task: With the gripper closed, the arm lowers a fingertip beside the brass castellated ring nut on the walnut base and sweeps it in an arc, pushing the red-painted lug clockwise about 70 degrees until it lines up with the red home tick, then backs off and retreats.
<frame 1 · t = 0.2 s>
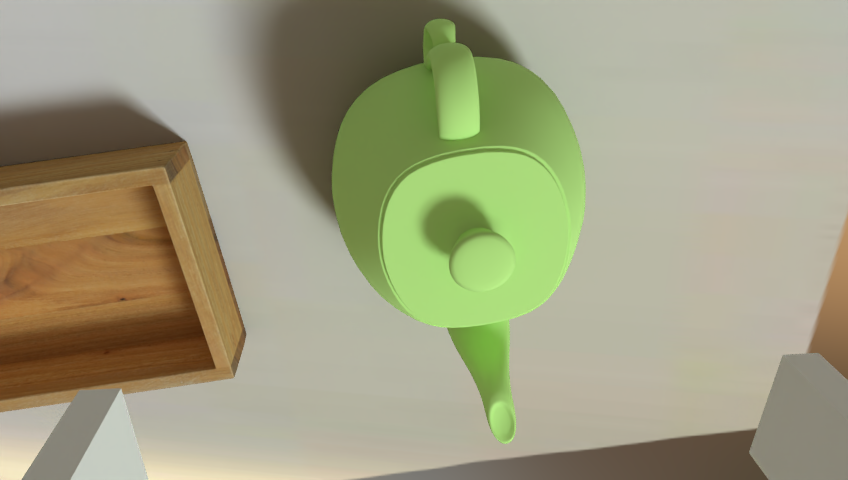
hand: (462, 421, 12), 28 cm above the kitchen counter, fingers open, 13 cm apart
teapot: (451, 182, 40), on the kitchen counter
tray: (0, 271, 41), on the kitchen counter
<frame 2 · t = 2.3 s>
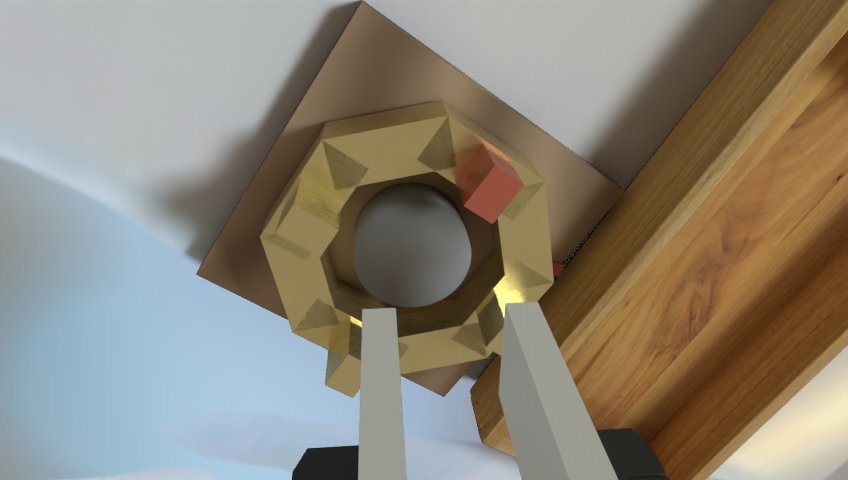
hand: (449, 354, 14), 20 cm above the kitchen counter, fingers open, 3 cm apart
tray: (698, 253, 37), on the kitchen counter
walnut base: (408, 221, 34), on the kitchen counter
ring nut: (413, 261, 30), point 5 cm above the kitchen counter, hinge at 0.0°
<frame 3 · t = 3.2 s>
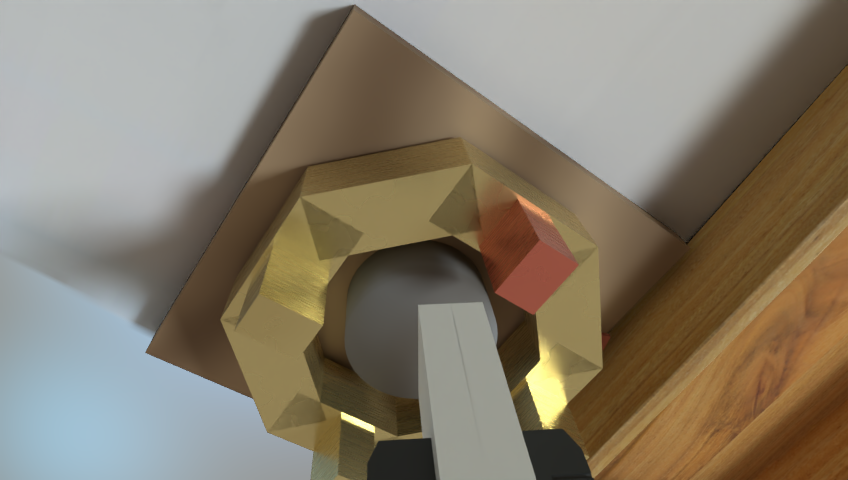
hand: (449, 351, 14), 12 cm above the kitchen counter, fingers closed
tray: (769, 313, 30), on the kitchen counter
walnut base: (414, 282, 27), on the kitchen counter
ring nut: (422, 347, 23), point 5 cm above the kitchen counter, hinge at 0.0°
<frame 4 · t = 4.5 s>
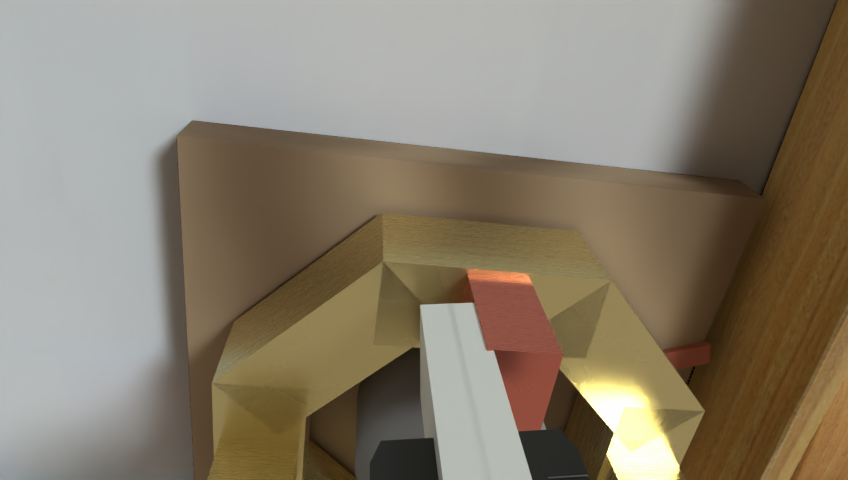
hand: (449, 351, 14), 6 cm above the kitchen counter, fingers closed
walnut base: (440, 371, 22), on the kitchen counter
ring nut: (455, 474, 18), point 5 cm above the kitchen counter, hinge at 0.0°, touching gripper
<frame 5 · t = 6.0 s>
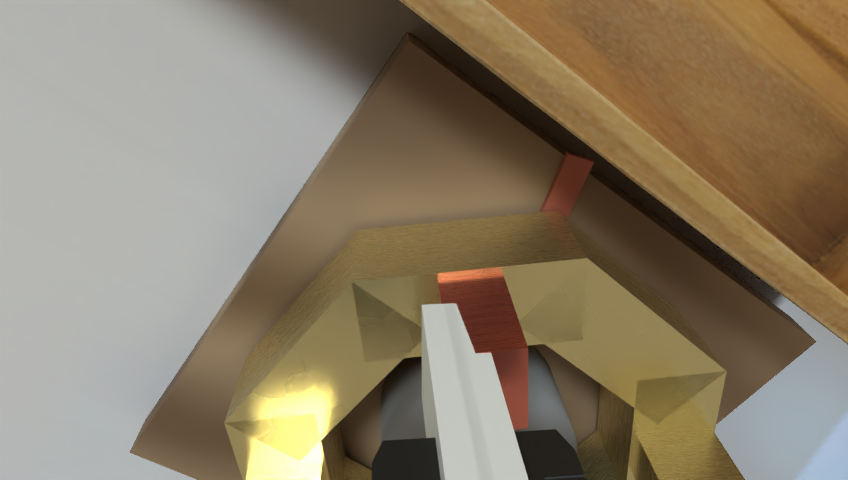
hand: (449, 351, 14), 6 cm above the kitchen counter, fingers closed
walnut base: (463, 369, 22), on the kitchen counter
ring nut: (481, 472, 18), point 5 cm above the kitchen counter, hinge at 49.4°, touching gripper
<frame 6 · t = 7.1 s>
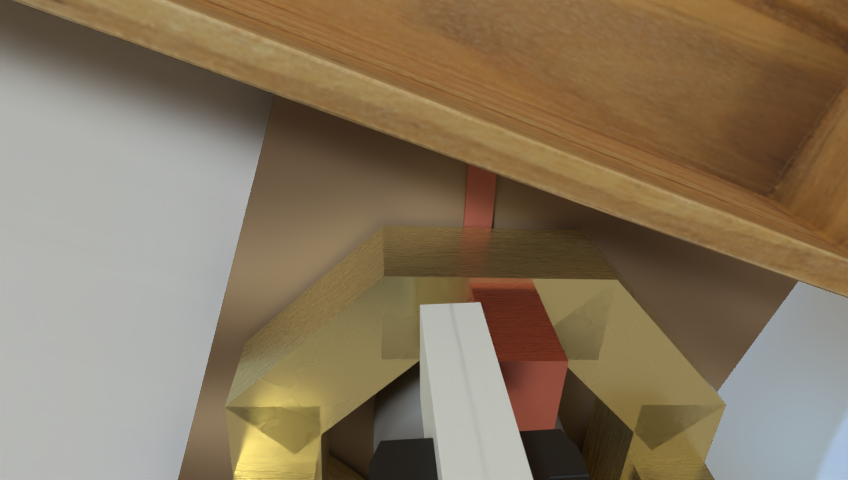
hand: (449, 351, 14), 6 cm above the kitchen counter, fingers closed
walnut base: (456, 377, 22), on the kitchen counter
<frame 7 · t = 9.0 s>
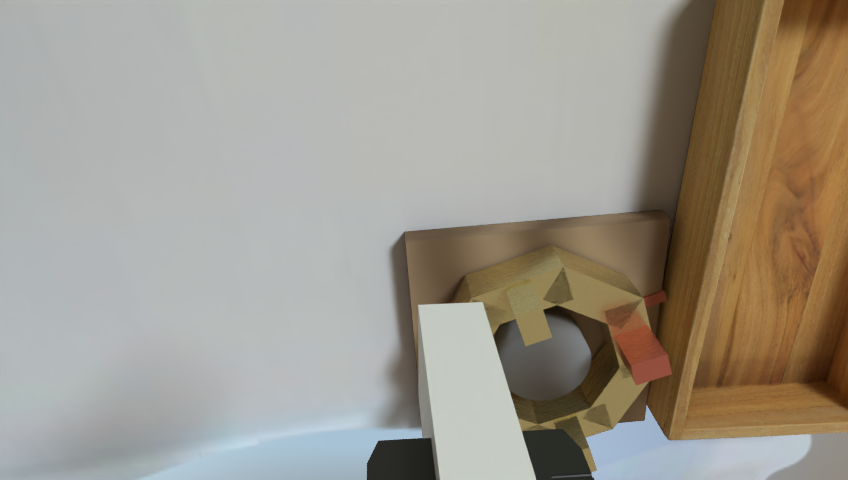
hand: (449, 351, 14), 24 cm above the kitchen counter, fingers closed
tray: (778, 203, 40), on the kitchen counter
walnut base: (531, 327, 43), on the kitchen counter
ring nut: (547, 369, 39), point 5 cm above the kitchen counter, hinge at 73.4°
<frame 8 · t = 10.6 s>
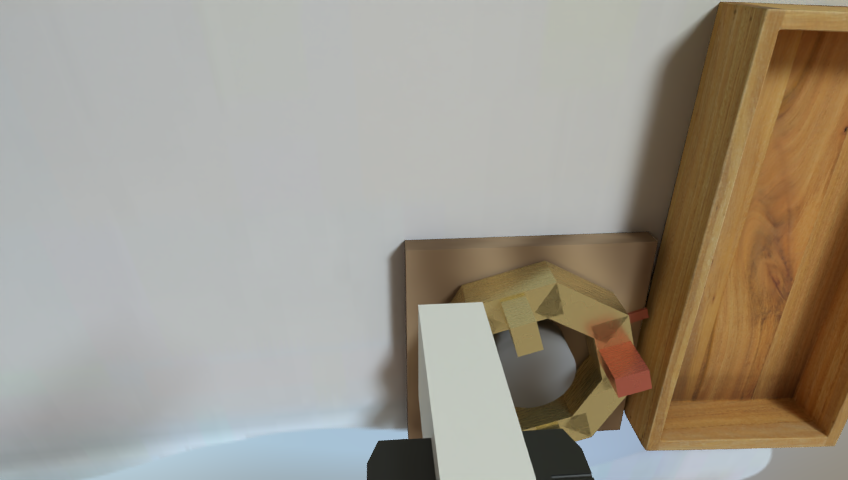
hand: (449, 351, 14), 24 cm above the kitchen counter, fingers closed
tray: (757, 231, 43), on the kitchen counter
walnut base: (519, 337, 45), on the kitchen counter
ring nut: (534, 378, 40), point 5 cm above the kitchen counter, hinge at 73.4°
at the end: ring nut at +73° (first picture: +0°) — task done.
